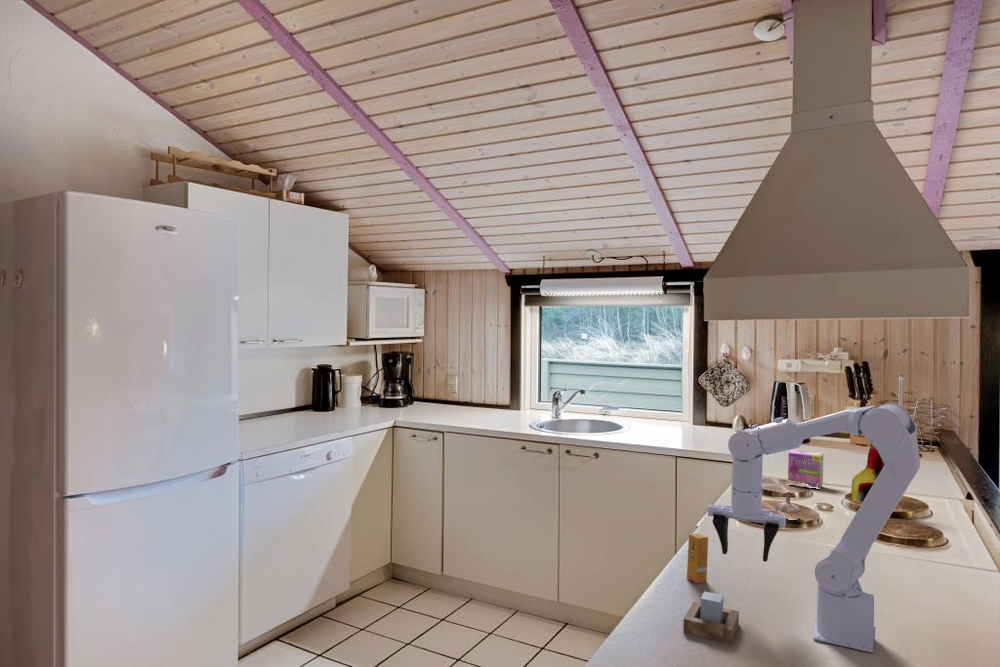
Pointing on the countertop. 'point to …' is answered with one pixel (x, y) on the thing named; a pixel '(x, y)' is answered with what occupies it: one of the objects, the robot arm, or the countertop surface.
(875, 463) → the bottle
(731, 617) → the walnut holder
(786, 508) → the garlic bulb
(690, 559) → the supplement box
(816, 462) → the box
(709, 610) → the peg
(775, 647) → the countertop surface
